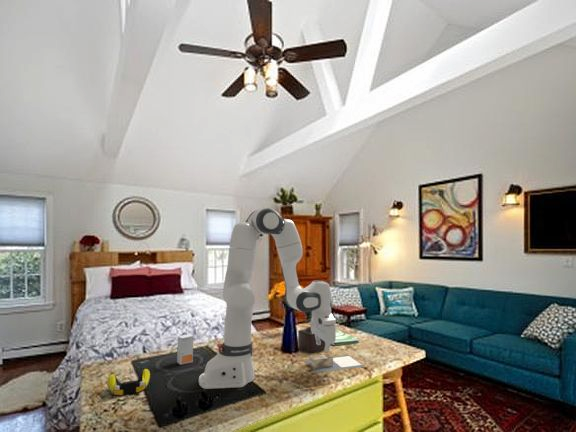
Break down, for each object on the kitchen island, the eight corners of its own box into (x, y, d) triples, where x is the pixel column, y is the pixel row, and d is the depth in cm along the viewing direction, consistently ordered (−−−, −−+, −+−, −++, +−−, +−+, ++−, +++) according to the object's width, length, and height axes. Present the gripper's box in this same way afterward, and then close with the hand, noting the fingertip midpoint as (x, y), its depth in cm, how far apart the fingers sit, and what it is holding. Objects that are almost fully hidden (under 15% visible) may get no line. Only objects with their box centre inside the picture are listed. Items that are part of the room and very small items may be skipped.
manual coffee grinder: (327, 350, 178) (327, 314, 179) (310, 354, 172) (309, 317, 173) (308, 342, 191) (308, 308, 192) (292, 345, 185) (292, 311, 186)
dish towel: (338, 332, 212) (338, 327, 213) (360, 343, 191) (360, 338, 191) (312, 335, 206) (312, 330, 206) (331, 347, 184) (331, 342, 184)
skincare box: (180, 365, 158) (181, 338, 158) (176, 362, 161) (177, 336, 162) (193, 362, 161) (193, 335, 162) (189, 359, 165) (189, 333, 165)
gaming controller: (107, 388, 134) (106, 399, 125) (107, 373, 134) (107, 383, 125) (149, 381, 141) (151, 391, 132) (149, 367, 141) (151, 376, 132)
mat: (316, 374, 148) (316, 372, 148) (303, 361, 163) (303, 359, 163) (365, 367, 155) (365, 366, 155) (348, 355, 170) (348, 354, 170)
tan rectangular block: (314, 368, 153) (314, 359, 153) (309, 363, 158) (309, 355, 158) (333, 365, 156) (333, 357, 156) (328, 361, 161) (328, 353, 161)
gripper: (307, 312, 167) (307, 341, 166) (324, 322, 148) (325, 356, 147) (319, 311, 169) (320, 340, 168) (337, 321, 150) (338, 354, 149)
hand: (322, 347), depth 157 cm, fingers open, 8 cm apart
